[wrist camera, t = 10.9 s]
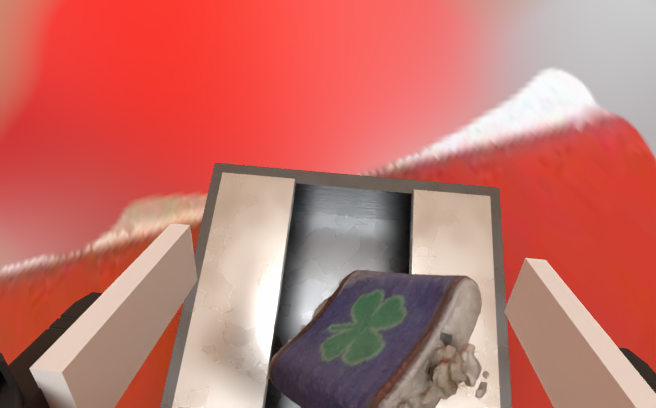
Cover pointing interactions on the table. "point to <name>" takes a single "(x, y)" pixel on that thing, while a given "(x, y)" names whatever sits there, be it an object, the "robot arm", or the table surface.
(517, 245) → the table surface
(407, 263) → the open box
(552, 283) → the robot arm
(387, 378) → the flask
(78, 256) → the table surface
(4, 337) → the table surface
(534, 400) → the table surface
